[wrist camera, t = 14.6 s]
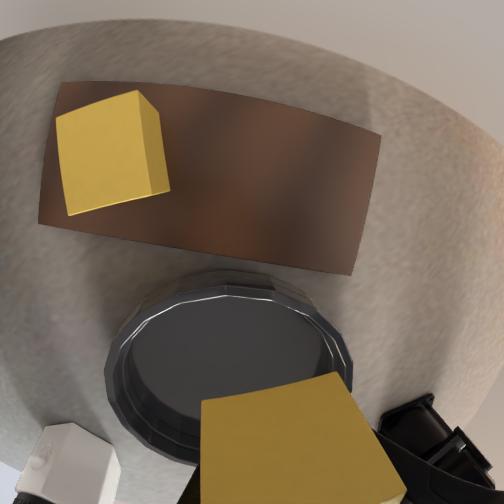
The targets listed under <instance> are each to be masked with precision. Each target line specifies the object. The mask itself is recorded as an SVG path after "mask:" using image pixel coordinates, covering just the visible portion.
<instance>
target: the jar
mask: <svg viewBox="0 0 504 504" xmlns="http://www.w3.org/2000/svg"><path fill="white" fill-rule="evenodd" d="M120 473H121V467H120V464H119V461H118V458H117V455H116V451H115V448H114V446H113V445H111V444H109V443H108V442H106V441H104V440H102V439H100V438H98V437H97V436H95V435H93V434H92V433H90V432H88V431H86V430H85V429H83V428H82V427H80V426H78V425H77V424H75V423H73V422H71V423H65V424H58V425H50V426H46V427H45V429H44V430H43V432H42V434H41V436H40V438H39V440H38V442H37V444H36V445H35V447H34V449H33V451H32V453H31V455H30V457H29V459H28V461H27V463H26V465H25V467H24V469H23V472H22V474H21V476H20V478H19V480H18V483H17V484H16V487H15V491H16V492H17V493H18V495H17V497H16V498H15V500H14V502H13V504H113V503H114V499H115V494H116V490H117V485H118V481H119V477H120Z"/></svg>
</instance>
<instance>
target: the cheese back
mask: <svg viewBox="0 0 504 504" xmlns="http://www.w3.org/2000/svg"><path fill="white" fill-rule="evenodd" d="M56 129H57V142H58V152H59V161H60V169H61V177H62V183H63V190H64V196H65V202H66V207H67V212H68V216H71V215H75V214H79V213H82V212H86V211H90V210H94V209H97V208H101V207H105V206H109V205H113V204H117V203H122V202H126V201H130V200H134V199H139V198H143V197H148V196H152V195H156V194H160V193H165V192H169V191H170V185H169V179H168V173H167V167H166V161H165V154H164V147H163V141H162V133H161V126H160V118H159V112H158V111H157V110H156V109H155V108H154V107H153V106H152V105H151V104H150V103H149V102H148V100H147V99H146V98H145V97H144V96H143V95H142V94H141V93H140V92H139V91H138V90H135V91H131V92H127V93H124V94H121V95H117V96H114V97H111V98H108V99H105V100H101V101H99V102H96V103H93V104H90V105H87V106H84V107H82V108H79V109H76V110H74V111H71V112H68V113H66V114H63V115H61V116H59V117H56Z"/></svg>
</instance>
